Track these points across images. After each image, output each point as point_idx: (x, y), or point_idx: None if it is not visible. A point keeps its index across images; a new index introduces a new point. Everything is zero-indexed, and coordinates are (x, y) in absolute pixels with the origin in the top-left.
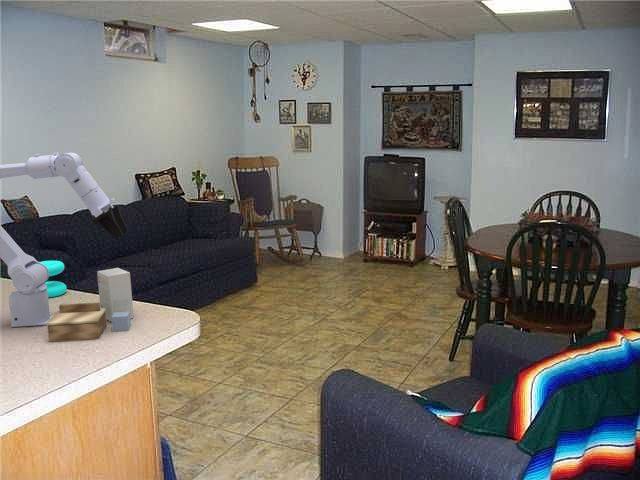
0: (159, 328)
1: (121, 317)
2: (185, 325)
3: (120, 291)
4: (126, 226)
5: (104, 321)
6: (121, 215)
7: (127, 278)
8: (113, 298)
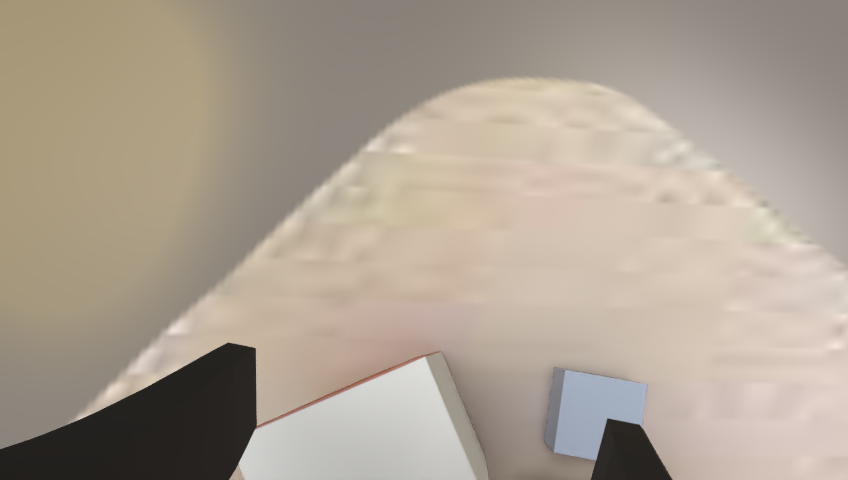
0: (639, 239)
1: (641, 414)
2: (632, 126)
3: (463, 421)
4: (200, 359)
5: None
6: (26, 441)
7: (438, 374)
8: (482, 461)
